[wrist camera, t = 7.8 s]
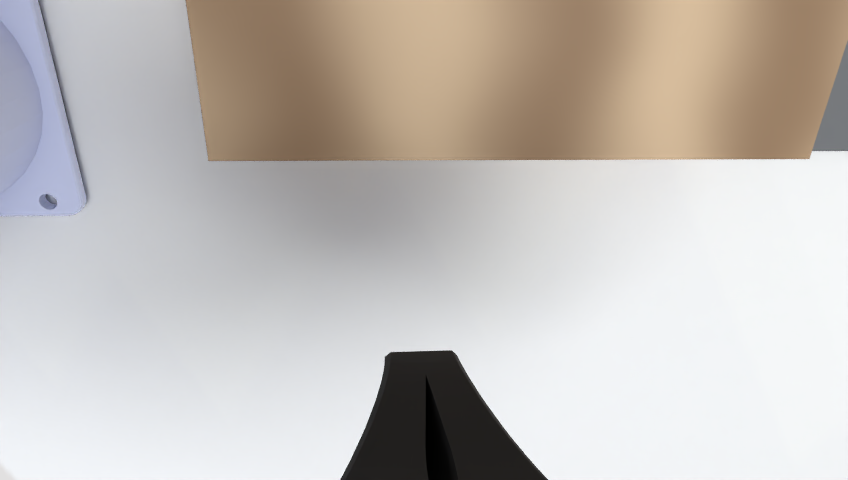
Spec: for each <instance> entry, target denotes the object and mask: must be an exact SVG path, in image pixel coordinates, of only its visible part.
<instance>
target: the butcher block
mask: <svg viewBox="0 0 848 480" xmlns="http://www.w3.org/2000/svg"><path fill="white" fill-rule="evenodd" d="M186 6H187V13H188V20H189V27H190V34H191V41H192V48H193V55H194V62H195V69H196V76H197V83H198V90H199V97H200V104H201V111H202V118H203V125H204V132H205V139H206V146H207V153H208V160H209V161H323V160H627V159H809V158H810V155H811V152H812V149H813V146H814V143H815V140H816V137H817V133H818V130H819V127H820V124H821V121H822V118H823V115H824V112H825V109H826V106H827V103H828V99H829V96H830V93H831V90H832V87H833V84H834V81H835V78H836V75H837V72H838V69H839V65H840V62H841V59H842V56H843V53H844V50H845V47H846V44H847V41H848V0H186Z"/></svg>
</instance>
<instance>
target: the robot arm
mask: <svg viewBox="0 0 848 480" xmlns="http://www.w3.org/2000/svg"><path fill="white" fill-rule="evenodd" d="M45 194H49V195H52V196H53V197H55V199H56V201H57V205H55V204H51V203H50V202H48V201H47V199H46V198H45ZM85 204H86V194H85V190H84V186H83V182H82V178H81V174H80V170H79V166H78V162H77V157H76V153H75V149H74V145H73V141H72V137H71V133H70V129H69V125H68V121H67V116H66V112H65V108H64V104H63V100H62V96H61V92H60V88H59V84H58V80H57V75H56V71H55V67H54V63H53V59H52V55H51V51H50V47H49V43H48V39H47V34H46V30H45V26H44V22H43V18H42V14H41V10H40V6H39V2H38V0H0V216H70V215H75V214H77V213H78V212H80V211H81V210H82V209H83V208H84V206H85ZM340 480H548V479H547V478H546V477H545V476H544V475H543V474H542V473H541V472H540V471H539V470H538V468H537V467H536V466H535V465H534V464H533V463H532V462H531V461H530V459H529V458H528V457H527V456H526V455H525V454H524V452H523V451H522V450H521V449H520V448H519V446H518V445H517V444H516V443H515V442H514V440H513V439H512V438H511V437H510V435H509V434H508V433H507V431H506V430H505V429H504V428H503V426H502V425H501V424H500V422H499V421H498V419H497V418H496V417H495V415H494V414H493V413H492V411H491V410H490V409H489V407H488V406H487V404H486V403H485V401H484V400H483V398H482V397H481V396H480V394H479V392H478V391H477V389H476V388H475V386H474V385H473V383H472V382H471V380H470V378H469V377H468V375H467V373H466V372H465V370H464V368H463V366H462V364H461V363H460V361H459V359H458V357H457V355H456V354H455V353H454V352H453V351H417V352H390V353H389V354H388V355H387V356H386V357H385V366H384V372H383V377H382V381H381V385H380V388H379V392H378V395H377V398H376V401H375V404H374V407H373V409H372V412H371V415H370V417H369V420H368V423H367V425H366V428H365V430H364V432H363V434H362V437H361V439H360V441H359V443H358V445H357V447H356V450H355V452H354V454H353V456H352V458H351V460H350V462H349V464H348V466H347V468H346V470H345V472H344V474H343V476H342V478H341V479H340Z"/></svg>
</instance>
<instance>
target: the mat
mask: <svg viewBox="0 0 848 480" xmlns="http://www.w3.org/2000/svg"><path fill="white" fill-rule="evenodd" d="M812 151H848V41H847V44H846V47H845V50H844V53H843V56H842V59H841V62H840V65H839V69H838V72H837V75H836V78H835V81H834V84H833V87H832V90H831V93H830V96H829V99H828V103H827V106H826V109H825V112H824V115H823V118H822V121H821V124H820V127H819V130H818V133H817V137H816V140H815V143H814V146H813V149H812Z"/></svg>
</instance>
